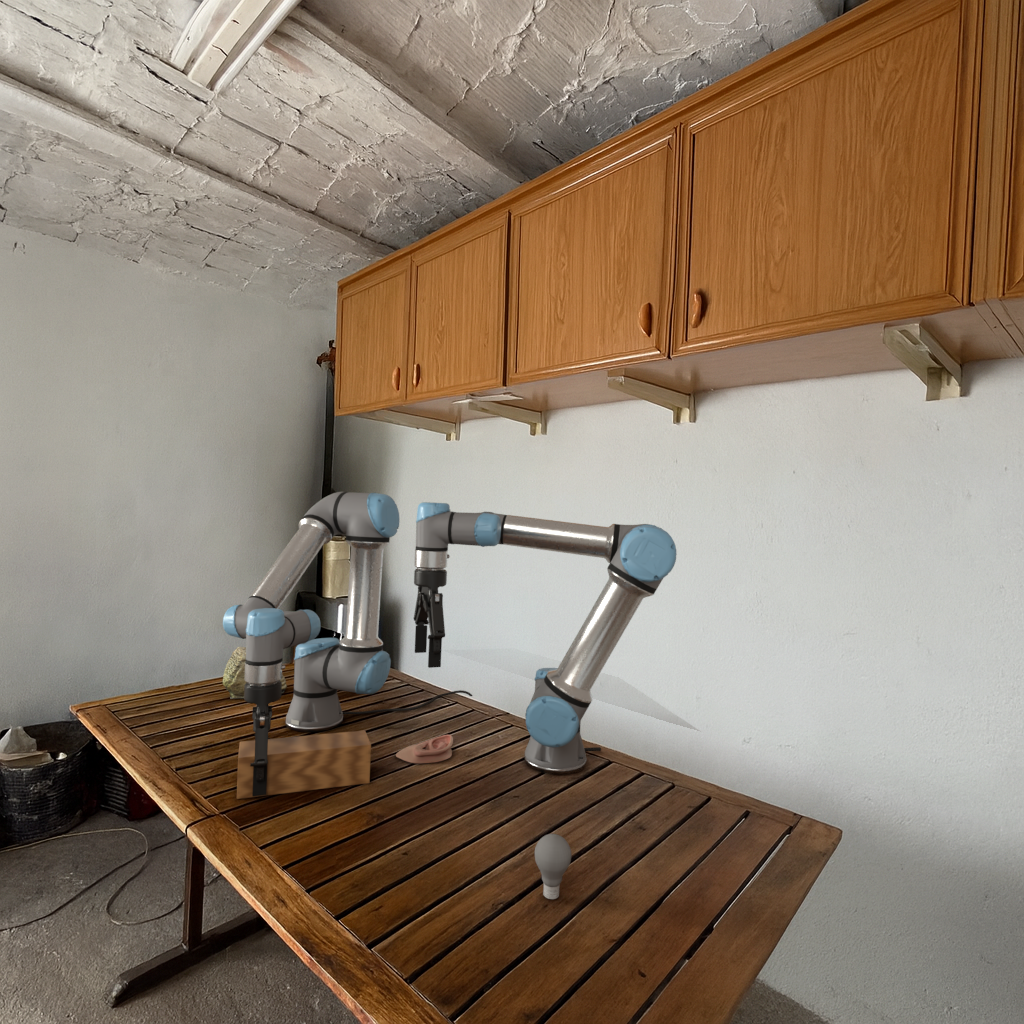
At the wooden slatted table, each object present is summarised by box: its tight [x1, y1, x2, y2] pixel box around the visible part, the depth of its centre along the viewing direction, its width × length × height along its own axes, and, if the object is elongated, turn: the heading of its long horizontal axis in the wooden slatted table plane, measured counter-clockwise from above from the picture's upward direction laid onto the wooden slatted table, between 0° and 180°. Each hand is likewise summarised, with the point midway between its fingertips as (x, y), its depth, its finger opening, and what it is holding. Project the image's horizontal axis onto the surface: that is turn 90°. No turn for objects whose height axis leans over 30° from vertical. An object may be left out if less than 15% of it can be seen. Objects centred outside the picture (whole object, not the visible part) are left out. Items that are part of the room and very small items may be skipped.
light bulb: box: [534, 833, 573, 900], centre depth 103 cm, size 6×6×10 cm
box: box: [236, 729, 372, 800], centre depth 140 cm, size 27×9×9 cm, turn 111°
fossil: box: [222, 646, 288, 699], centre depth 198 cm, size 9×18×15 cm, turn 132°
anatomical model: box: [395, 734, 454, 764], centre depth 157 cm, size 13×4×12 cm
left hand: (259, 783), depth 137 cm, fingers open, 10 cm apart
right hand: (427, 659), depth 148 cm, fingers open, 13 cm apart
